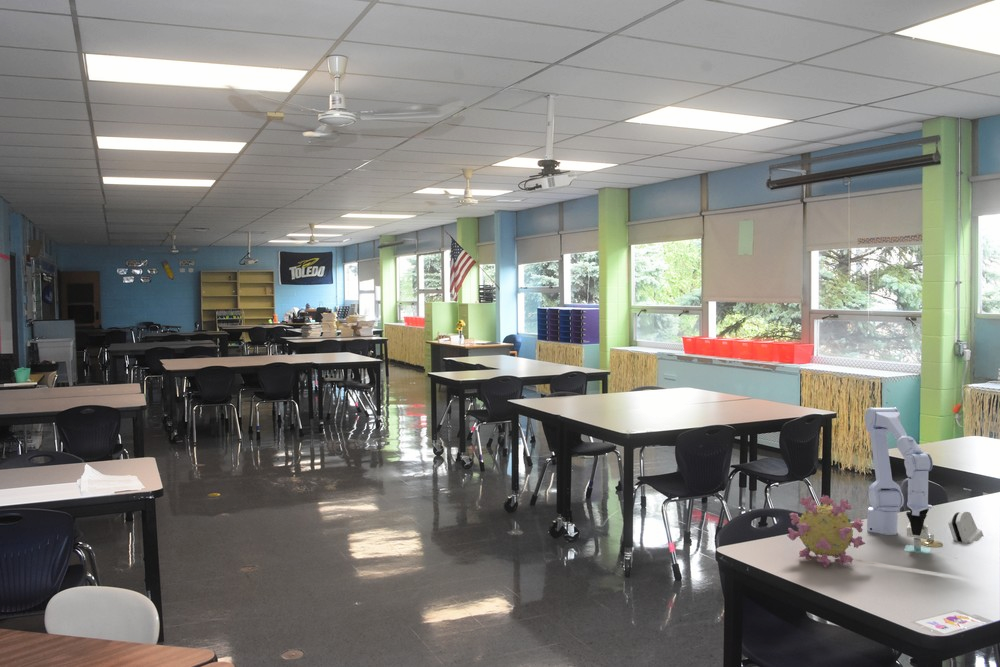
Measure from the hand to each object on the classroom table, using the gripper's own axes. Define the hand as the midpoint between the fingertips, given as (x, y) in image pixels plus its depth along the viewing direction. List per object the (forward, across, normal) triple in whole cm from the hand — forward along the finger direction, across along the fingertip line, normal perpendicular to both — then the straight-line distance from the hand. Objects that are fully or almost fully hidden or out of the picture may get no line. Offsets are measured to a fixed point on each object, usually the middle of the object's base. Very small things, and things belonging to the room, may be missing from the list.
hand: (917, 532), depth 246 cm
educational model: (+7, -25, +23) cm, 35 cm away
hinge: (+7, +24, -12) cm, 28 cm away
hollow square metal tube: (+1, 0, 0) cm, 1 cm away
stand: (+6, 0, 0) cm, 6 cm away
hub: (+6, +9, -3) cm, 11 cm away
